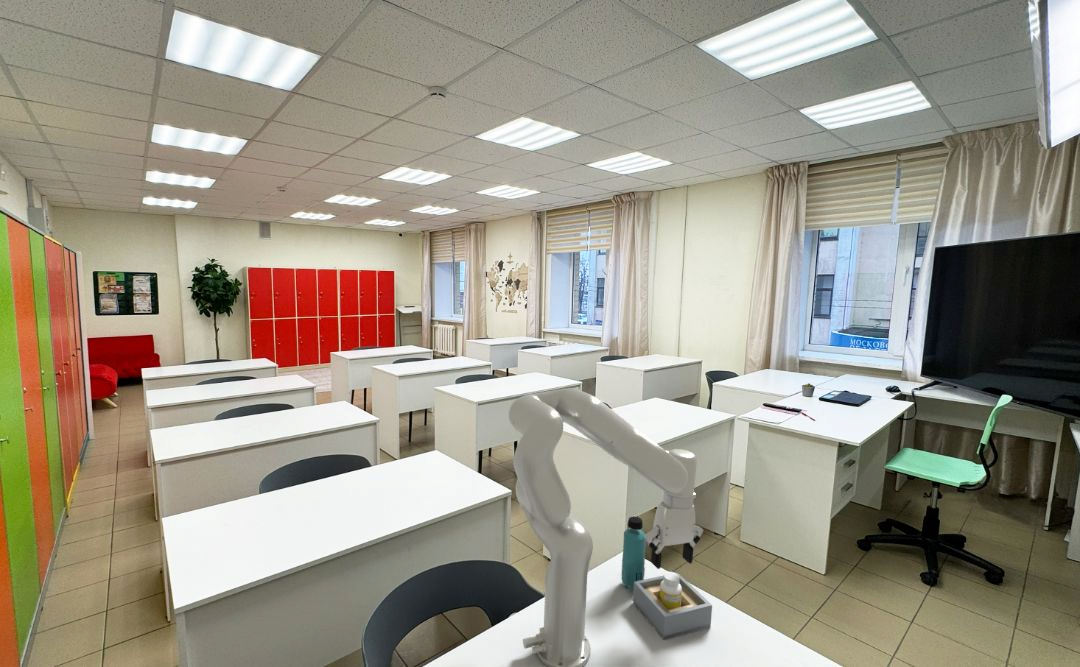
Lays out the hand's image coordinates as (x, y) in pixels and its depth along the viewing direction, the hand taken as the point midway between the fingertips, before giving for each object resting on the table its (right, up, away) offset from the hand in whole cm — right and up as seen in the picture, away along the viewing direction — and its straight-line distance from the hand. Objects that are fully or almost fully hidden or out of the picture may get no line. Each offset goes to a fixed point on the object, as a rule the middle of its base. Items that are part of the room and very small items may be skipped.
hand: (671, 563), depth 119 cm
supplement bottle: (0, -14, +1) cm, 14 cm away
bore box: (0, -14, +2) cm, 14 cm away
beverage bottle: (-8, -13, +13) cm, 20 cm away
